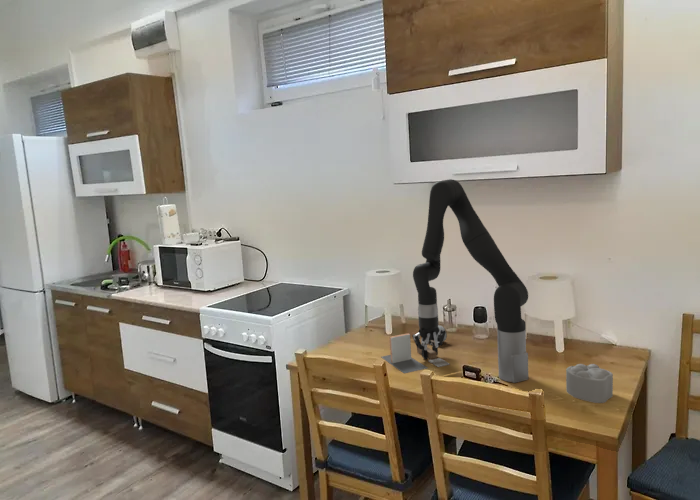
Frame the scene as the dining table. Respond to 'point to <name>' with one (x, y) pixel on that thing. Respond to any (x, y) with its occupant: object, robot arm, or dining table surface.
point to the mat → (406, 364)
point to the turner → (433, 357)
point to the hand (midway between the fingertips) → (430, 357)
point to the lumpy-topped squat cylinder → (589, 383)
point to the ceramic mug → (438, 334)
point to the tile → (400, 348)
